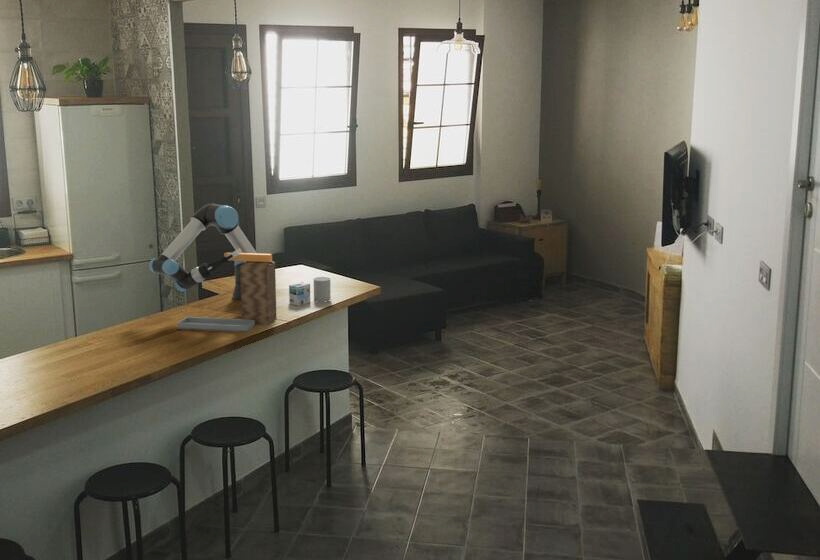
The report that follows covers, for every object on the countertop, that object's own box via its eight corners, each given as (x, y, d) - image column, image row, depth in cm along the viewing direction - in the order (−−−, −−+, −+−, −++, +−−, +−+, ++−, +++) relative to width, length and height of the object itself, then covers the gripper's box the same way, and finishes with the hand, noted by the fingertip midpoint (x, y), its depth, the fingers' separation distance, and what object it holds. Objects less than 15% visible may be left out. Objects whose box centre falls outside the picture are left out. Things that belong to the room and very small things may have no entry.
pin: (224, 260, 443) (224, 253, 442) (226, 259, 446) (226, 252, 445) (270, 261, 440) (269, 255, 439) (272, 260, 443) (271, 253, 442)
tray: (177, 328, 434) (177, 323, 433) (186, 322, 445) (186, 316, 445) (247, 332, 429) (247, 326, 428) (255, 325, 441) (254, 320, 440)
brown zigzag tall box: (241, 324, 444) (239, 264, 437) (250, 316, 457) (248, 258, 450) (268, 325, 442) (266, 265, 435) (276, 318, 455) (274, 259, 448)
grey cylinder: (311, 298, 496) (311, 277, 493) (328, 297, 499) (327, 276, 497) (316, 302, 487) (315, 281, 485) (332, 301, 491) (332, 280, 488)
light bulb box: (297, 305, 481) (297, 286, 478) (288, 304, 484) (288, 285, 482) (311, 302, 489) (310, 283, 486) (302, 300, 493) (301, 281, 490)
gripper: (211, 275, 456) (248, 254, 451) (200, 282, 440) (237, 261, 435) (204, 262, 455) (240, 242, 450) (192, 269, 439) (230, 248, 434)
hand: (239, 251), depth 443 cm, fingers closed on pin, 3 cm apart
